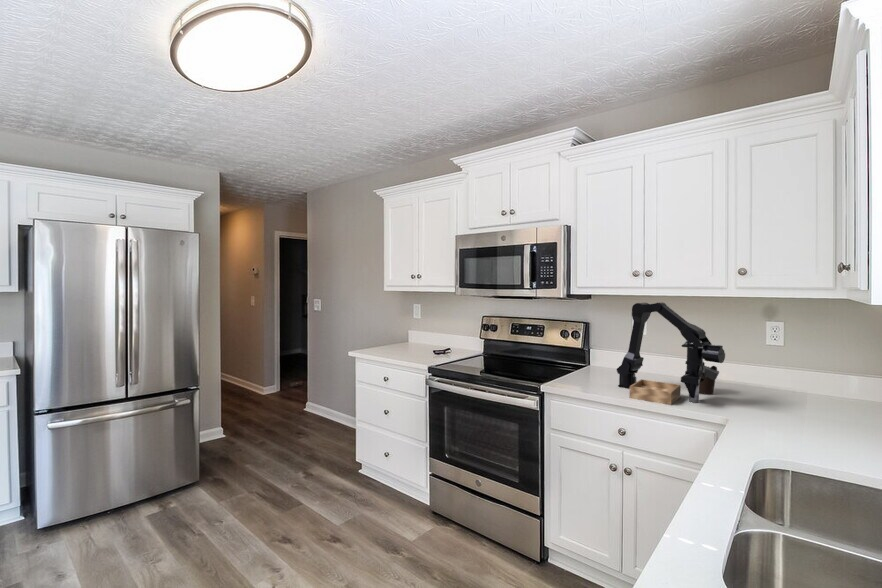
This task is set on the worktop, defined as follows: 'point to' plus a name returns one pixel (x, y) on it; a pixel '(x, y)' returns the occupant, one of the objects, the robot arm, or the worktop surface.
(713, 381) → the coffee mug
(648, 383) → the tray
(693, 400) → the peg
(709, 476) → the worktop surface
